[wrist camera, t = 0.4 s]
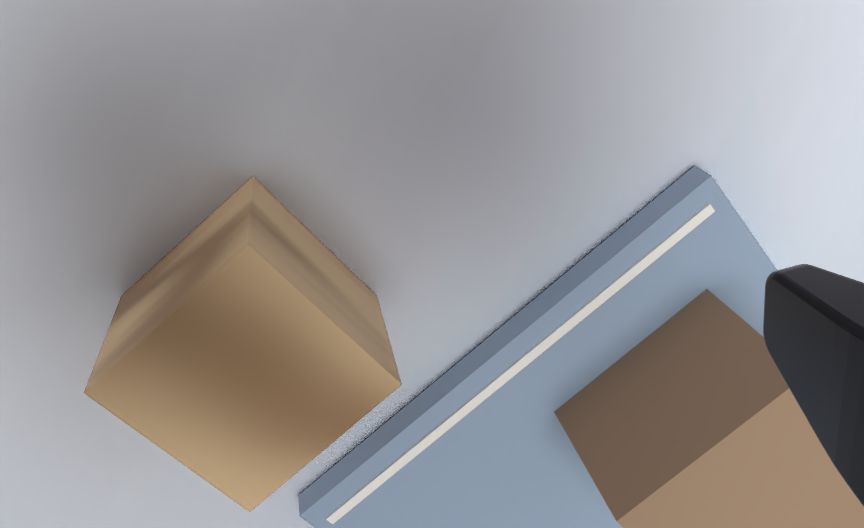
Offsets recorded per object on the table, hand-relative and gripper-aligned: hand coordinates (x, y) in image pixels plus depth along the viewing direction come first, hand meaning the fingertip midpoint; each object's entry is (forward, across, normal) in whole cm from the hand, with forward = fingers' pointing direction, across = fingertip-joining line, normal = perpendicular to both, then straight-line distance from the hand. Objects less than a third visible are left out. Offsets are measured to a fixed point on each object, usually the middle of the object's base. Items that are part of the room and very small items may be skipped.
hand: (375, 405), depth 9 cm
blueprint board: (+12, -6, +15) cm, 20 cm away
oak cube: (+13, +4, +6) cm, 15 cm away
